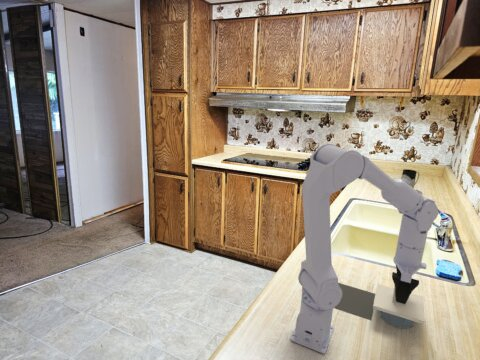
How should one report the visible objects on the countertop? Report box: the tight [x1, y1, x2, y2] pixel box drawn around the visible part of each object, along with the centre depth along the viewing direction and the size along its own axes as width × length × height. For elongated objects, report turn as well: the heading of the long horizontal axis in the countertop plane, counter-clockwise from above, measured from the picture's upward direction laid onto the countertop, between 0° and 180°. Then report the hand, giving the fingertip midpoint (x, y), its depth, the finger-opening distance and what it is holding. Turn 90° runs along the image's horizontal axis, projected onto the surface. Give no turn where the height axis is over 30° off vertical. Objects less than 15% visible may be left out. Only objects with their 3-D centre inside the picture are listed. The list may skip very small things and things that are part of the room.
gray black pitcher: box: [400, 168, 420, 189], centre depth 197 cm, size 9×14×15 cm, turn 117°
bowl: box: [379, 311, 415, 330], centre depth 80 cm, size 7×7×4 cm
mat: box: [334, 282, 376, 321], centre depth 88 cm, size 13×13×1 cm
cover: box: [373, 283, 426, 325], centre depth 79 cm, size 11×11×5 cm
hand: (401, 294), depth 79 cm, fingers open, 7 cm apart
